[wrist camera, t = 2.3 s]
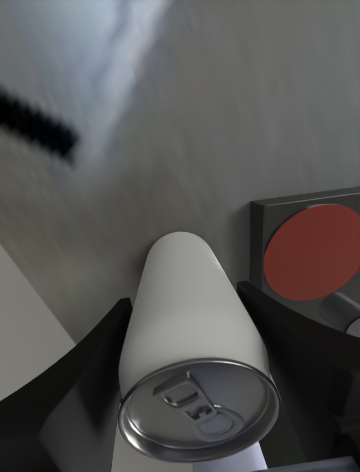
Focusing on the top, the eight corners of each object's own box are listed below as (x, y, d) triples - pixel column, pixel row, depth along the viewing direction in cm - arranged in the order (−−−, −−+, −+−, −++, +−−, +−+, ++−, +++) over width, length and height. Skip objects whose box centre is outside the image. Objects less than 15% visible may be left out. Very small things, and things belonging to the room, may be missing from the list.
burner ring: (354, 292, 17) (356, 293, 17) (261, 305, 17) (262, 307, 16) (377, 196, 14) (380, 196, 14) (264, 211, 14) (265, 212, 14)
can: (172, 299, 19) (177, 486, 7) (133, 255, 17) (60, 415, 6) (224, 267, 18) (320, 424, 7) (189, 216, 16) (237, 314, 5)
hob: (368, 333, 22) (393, 353, 20) (249, 350, 22) (259, 373, 19) (413, 178, 16) (458, 179, 14) (250, 201, 16) (265, 205, 13)
